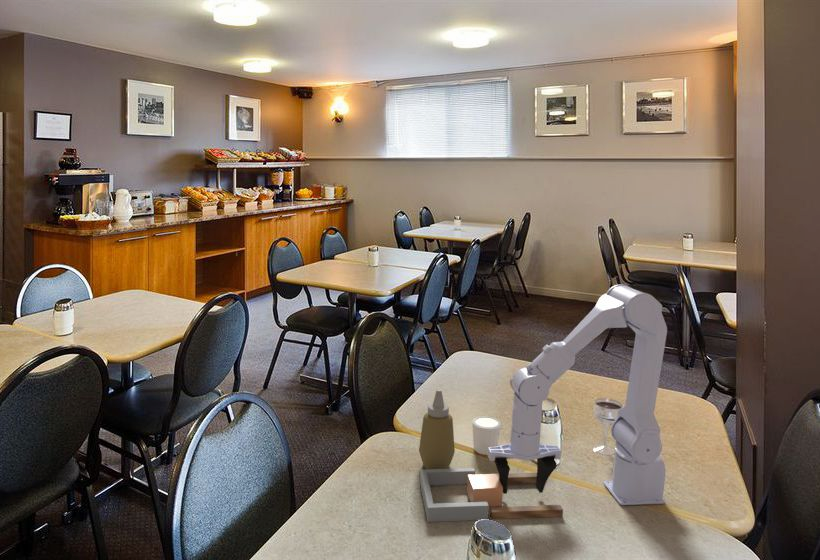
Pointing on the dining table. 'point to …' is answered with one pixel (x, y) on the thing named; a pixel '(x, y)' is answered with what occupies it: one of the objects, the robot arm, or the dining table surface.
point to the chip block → (485, 489)
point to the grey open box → (449, 509)
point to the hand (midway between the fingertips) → (521, 490)
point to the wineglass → (606, 420)
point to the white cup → (485, 433)
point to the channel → (525, 510)
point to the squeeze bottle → (437, 435)
